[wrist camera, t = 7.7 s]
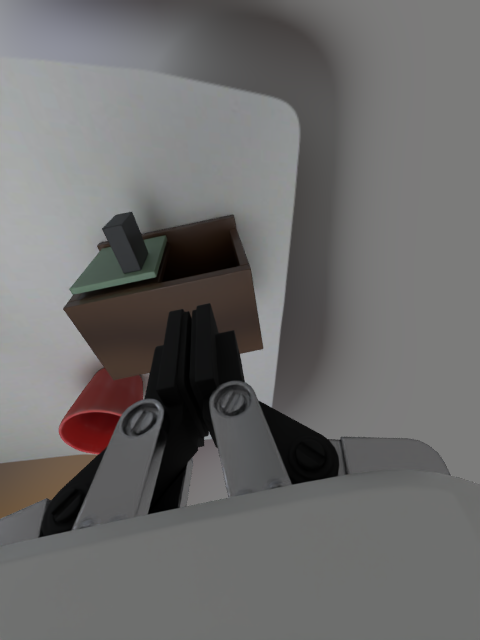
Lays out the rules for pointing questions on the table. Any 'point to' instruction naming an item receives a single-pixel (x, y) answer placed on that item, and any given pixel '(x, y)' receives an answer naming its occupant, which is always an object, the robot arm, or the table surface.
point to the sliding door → (122, 257)
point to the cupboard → (171, 297)
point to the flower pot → (99, 411)
